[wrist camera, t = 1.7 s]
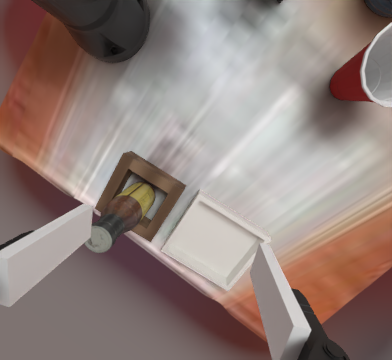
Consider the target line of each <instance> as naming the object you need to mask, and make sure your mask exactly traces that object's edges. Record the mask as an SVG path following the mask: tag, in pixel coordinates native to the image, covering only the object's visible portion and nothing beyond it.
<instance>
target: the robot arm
mask: <svg viewBox="0 0 392 360" xmlns="http://www.w3.org/2000/svg"><path fill="white" fill-rule="evenodd" d="M32 1H33V2H35V3H36V4H37V5H39V6H40V7H42V8H43V9H44V10H46V11H47V12H49V13H50V14H51V15H53V16H54V17H56V18H57V19H59V20H60V21H61V22H63V24H64V25H65V27H66V28H67V29H68V31H69V32H70V34H71V35H72V37H73V38H74V40H75V41H76V42H77V43H78V45H79V46H80V47H81V48H83V49H84V50H85V51H86V52H88V53H89V54H90V55H92V56H94V57H95V58H97V59H99V60H102V61H105V62H112V63H115V62H121V61H124V60H127V59H129V58H130V57H132V56H133V55H134V54H135V53H137V51H138V50H139V49H140V48H141V46H142V45H143V43H144V41H145V39H146V36H147V33H148V29H149V8H148V4H147V1H146V0H32ZM92 211H93V206H90V205H86V204H83V205H81V206H79V207H77V208H76V209H74V210H72V211H70V212H68V213H66V214H65V215H63V216H61V217H59V218H57V219H56V220H54V221H52V222H51V223H49V224H47V225H45V226H43V227H42V228H40V229H38V230H36V231H29V232H26V233H23V234H21V235H19V236H17V237H15V238H13V240H9V241H7V242H6V243H5V244H2V245H0V305H4V306H8V307H10V306H11V305H12V304H14V303H15V302H16V301H17V300H18V299H19V298H21V297H22V296H23V295H24V294H25V293H26V292H27V291H29V290H30V289H31V288H32V287H33V286H35V285H36V284H37V283H38V282H39V281H40V280H41V279H43V278H44V277H45V276H46V275H47V274H48V273H49V272H51V271H52V270H53V269H54V268H55V267H57V266H58V265H59V264H60V263H61V262H62V261H63V260H65V259H66V258H67V257H68V256H69V255H70V254H72V253H73V252H74V251H75V250H76V249H77V248H79V247H80V246H81V245H82V244H83V243H84V242H86V241H87V240H88V239H89V238H90V237H91V225H92ZM250 276H251V280H252V283H253V287H254V291H255V295H256V299H257V303H258V307H259V310H260V314H261V318H262V322H263V326H264V330H265V333H266V337H267V341H268V345H269V348H270V353H271V356H272V360H350V359H349V357H348V355H347V354H346V353H345V352H344V350H343V349H342V348H341V347H340V346H338V345H337V344H336V343H335V342H333V341H331V340H330V339H328V337H327V335H326V333H325V332H324V330H323V328H322V326H321V324H320V322H319V321H318V319H317V317H316V315H315V314H314V312H313V310H312V308H311V307H310V305H309V303H308V301H307V299H306V298H305V296H304V295H303V294H302V293H301V292H300V291H299V290H296V289H292V288H290V286H289V284H288V282H287V280H286V278H285V276H284V274H283V272H282V270H281V268H280V266H279V264H278V262H277V259H276V257H275V255H274V253H273V251H272V249H271V247H270V245H267V244H263V243H259V245H258V248H257V252H256V255H255V258H254V261H253V264H252V268H251V271H250Z"/></svg>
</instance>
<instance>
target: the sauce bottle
mask: <svg viewBox="0 0 392 360" xmlns="http://www.w3.org/2000/svg"><path fill="white" fill-rule="evenodd" d="M154 200H155V191H154V188H153V187H152V186H151V185H149V184H148V183H146V182H138V183H134V184H132V185H131V186H130V187H128V188H127V189H126V190H124V191H123V192H122V193H120V194H119V195H117V196H116V197H115V198H113V199H112V200H111V201H110V202H109V203H108V204H107V205H106V206H105V207H104V209H103V210H102V211H101V217H100V220H98V221H97V222H95V223H93V224H92V225H91V237H90V238H89V239H88V240H87V241H86V242H84V244H85V245H86V246H87V247H88V248H89V249H90V250H91V251H93V252H96V253H101V252H106V251H107V250H109V249H110V248H111V247H112V246H113V244H114V243H115V241H116V239H117V237H118V236H120V235H121V234H122V233H125V232H127V231H130V230H132V229H133V228H135V227H136V226H137V225H138V223H139V222H140V221H141V219H142V218H143V216H144V215H145V214H146V212H147V211H148V210H149V208H150V207H151V206H152V204H153V202H154Z"/></svg>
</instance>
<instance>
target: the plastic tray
mask: <svg viewBox="0 0 392 360" xmlns="http://www.w3.org/2000/svg"><path fill="white" fill-rule="evenodd" d="M271 240H272V239H271V237H270V235H269V233H268V232H267V231H266V230H264V229H263V228H261V227H260V226H258V225H257V224H255V223H253V222H252V221H250V220H249V219H247V218H245V217H244V216H242V215H241V214H239V213H237V212H236V211H234V210H233V209H231V208H229V207H228V206H226V205H225V204H223V203H221V202H220V201H218V200H217V199H215V198H213V197H212V196H210V195H209V194H207V193H206V192H204V191H202V190H201V189H200V190H199V191H198V193H197V194H196V196H195V197H194V199H193V200H192V202H191V203H190V205H189V206H188V208H187V209H186V211H185V212H184V214H183V215H182V217H181V218H180V220H179V221H178V223H177V224H176V226H175V227H174V229H173V230H172V232H171V234H170V235H169V237H168V238H167V240H166V241H165V243H164V245H163V247H162V249H161V251H162V252H163V253H165V254H167V255H168V256H170V257H172V258H173V259H175V260H177V261H178V262H180V263H182V264H183V265H185V266H187V267H188V268H190V269H192V270H193V271H195V272H197V273H198V274H200V275H202V276H203V277H205V278H207V279H208V280H210V281H212V282H213V283H215V284H217V285H218V286H220V287H222V288H223V289H225V290H227V291H229V290H230V289H231V288H232V286H233V285H234V284H235V283H236V282H237V280H238V279H239V278H240V277H241V276H242V274H243V273H244V272H245V271H246V270H247V268H248V267H249V266H250V265H251V264H252V263H253V261H254V258H255V255H256V252H257V248H258V245H259V243H263V244H267V245H268V243H269V242H270V241H271Z"/></svg>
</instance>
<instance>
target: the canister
mask: <svg viewBox="0 0 392 360" xmlns="http://www.w3.org/2000/svg"><path fill="white" fill-rule="evenodd" d="M364 1H365V2H366V4H367V6H368V7H369V8H370V9H371V10H372V11H373V12H375V13H376V14H378V15H380V16H384V17H390V18H392V0H364Z"/></svg>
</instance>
